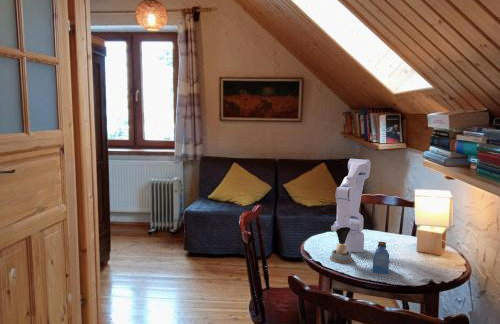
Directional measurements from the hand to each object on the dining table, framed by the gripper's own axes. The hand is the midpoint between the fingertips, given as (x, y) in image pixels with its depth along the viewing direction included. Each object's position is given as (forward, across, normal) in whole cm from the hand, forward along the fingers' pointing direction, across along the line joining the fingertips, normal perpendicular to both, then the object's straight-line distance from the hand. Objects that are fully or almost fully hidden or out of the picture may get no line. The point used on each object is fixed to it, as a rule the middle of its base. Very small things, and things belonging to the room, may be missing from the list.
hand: (341, 243), depth 181 cm
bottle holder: (+7, 0, 0) cm, 7 cm away
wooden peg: (+7, 0, 0) cm, 7 cm away
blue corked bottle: (+8, -1, +18) cm, 20 cm away
